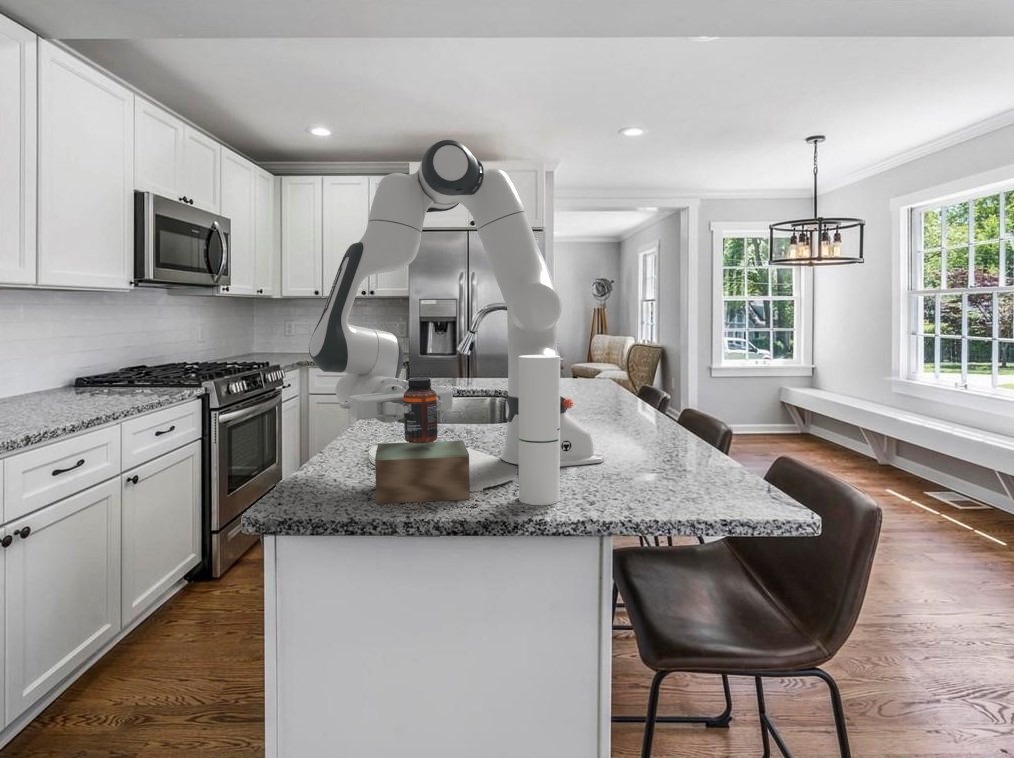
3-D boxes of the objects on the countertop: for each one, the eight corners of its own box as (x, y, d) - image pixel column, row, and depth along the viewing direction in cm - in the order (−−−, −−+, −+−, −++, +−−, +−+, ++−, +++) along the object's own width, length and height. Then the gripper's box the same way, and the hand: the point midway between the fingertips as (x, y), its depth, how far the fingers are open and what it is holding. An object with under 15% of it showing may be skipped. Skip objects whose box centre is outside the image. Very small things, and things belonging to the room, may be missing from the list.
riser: (463, 481, 123) (462, 440, 123) (469, 499, 112) (469, 454, 111) (379, 485, 121) (378, 443, 120) (376, 503, 109) (375, 457, 108)
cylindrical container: (564, 495, 114) (564, 355, 111) (553, 507, 107) (554, 358, 104) (525, 491, 116) (525, 354, 113) (513, 503, 109) (512, 357, 107)
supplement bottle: (440, 437, 118) (439, 376, 117) (433, 444, 112) (432, 380, 111) (409, 437, 119) (407, 376, 117) (400, 444, 113) (399, 380, 111)
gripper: (334, 387, 118) (369, 395, 107) (429, 379, 131) (468, 386, 120) (336, 421, 119) (370, 432, 108) (429, 410, 131) (469, 419, 121)
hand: (423, 408), depth 114 cm, fingers closed on supplement bottle, 6 cm apart
